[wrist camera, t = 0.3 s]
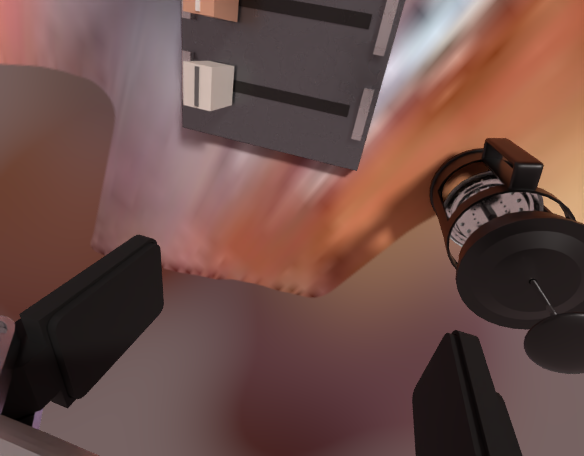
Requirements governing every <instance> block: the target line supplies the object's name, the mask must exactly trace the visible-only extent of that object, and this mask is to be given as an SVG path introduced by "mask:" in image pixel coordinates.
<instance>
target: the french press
mask: <svg viewBox="0 0 584 456" xmlns="http://www.w3.org/2000/svg"><path fill="white" fill-rule="evenodd" d="M475 162H484V164H485V165H486V166H487V167H488V168H489V169H490V170H491V171H486V172H482V173H478V174H476V175H474V176H471V177H469V178H468V179H466V180H464V181H462V182H461V183H460V184H459V185H457V186H456V187H455V188H454V189H453V190H452V191H451V193H450V194H449V195H448V197H447V198H446V200H445V202H443V198H442V191H443V187H444V184H445V182H446V181H447V179H448V178H449V177H450V176H451V175H452V174H453V173H454V172H456V171H457V170H459V169H461V168H462V167H464V166H467V165H469V164H471V163H475ZM543 166H544V165H543V163H542V162H540V161H539V160H537V159H536V158H535V157H533V156H532V155H530V154H529V153H527V152H526V151H525V150H523V149H522V148H520V147H519V146H517V145H516V144H514V143H513V142H512V141H510V140H509V139H506V138H487V139H486V140H485V144H484V148H480V149H472V150H468V151H465V152H462V153H460V154H458V155H456V156H454V157H452V158H451V159H449V160H448V161H447V162H446V163H444V164H443V165H442V166H441V167H440V169H439V170H438V171H437V172H436V174H435V176H434V178H433V180H432V183H431V186H430V201H431V205H432V207H433V209H434V211H435V212H436V215H437V217H438V219H439V223H440V226H441V230H442V233H443V237H444V241H445V246H446V250H447V254H448V257H449V259H450V261H451V263H452V265H453V266H454V267H455V269H456V284H457V289H458V292H459V294H460V296H461V298H462V300H463V302H464V303H465V304H466V305H467V307H468V308H469V309H470V310H471V311H473V312H474V313H475V314H476V315H477V316H479V317H481V318H483V319H485V320H487V321H488V322H491V323H494V324H497V325H499V326H504V327H508V328H514V329H530V330H529V331H528V333H527V335H526V336H525V340H524V349H525V352H526V354H527V355H528V357H529V358H530V359H531V360H532V361H533V362H535V363H536V364H537V365H539V366H541V367H542V368H545V369H548V370H550V371H554V372H558V373H566V374H580V373H584V224H583V223H580V222H577V221H576V220H575V217H574V216H573V214H572V213H571V211H570V209H569V208H568V207H566V206H565V205H564V204H563V203H562V202H561V201H560V200H559V199H557V198H556V197H555V196H554V195H552V194H551V193H549V192H547V191H545V190H543V189H541V188H538V187H537V186H538V182H539V179H540V176H541V173H542V170H543ZM542 196H545V197H548V198H550V199H552V200H554V201H555V202H557V203H558V204H559V205H560V207H561V208H562V210H563V211H564V214H565V217H566V218H565V217H563V216H560V215H557V214H554V213H552V212H551V211H550V210H548V209H547V208H546V207H545V206H544V205H543V198H542ZM449 238H450V239H451V240H453V241H454V242H455V243H456V244H458V245H460V246H461V247H462V249H461V251H460V254H459V261H458V263H457V262H456V260H455V259H454V258H453V256H452V255H451V253H450V251H449Z"/></svg>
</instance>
